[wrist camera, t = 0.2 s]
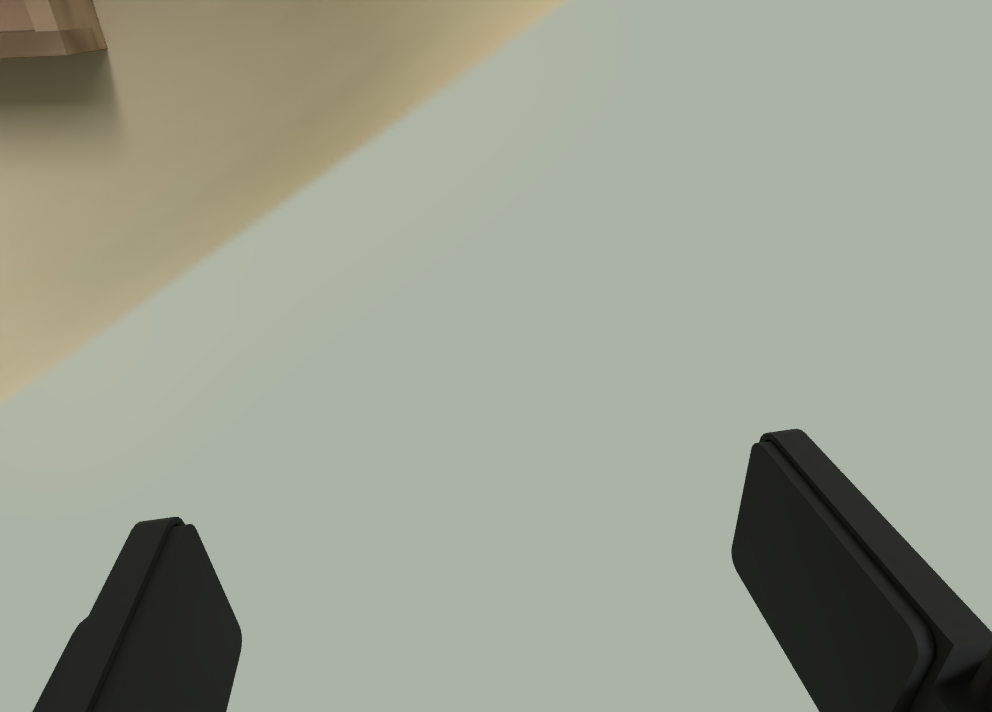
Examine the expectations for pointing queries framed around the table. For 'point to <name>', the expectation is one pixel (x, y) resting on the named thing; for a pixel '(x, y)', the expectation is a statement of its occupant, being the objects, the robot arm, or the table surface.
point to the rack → (48, 28)
